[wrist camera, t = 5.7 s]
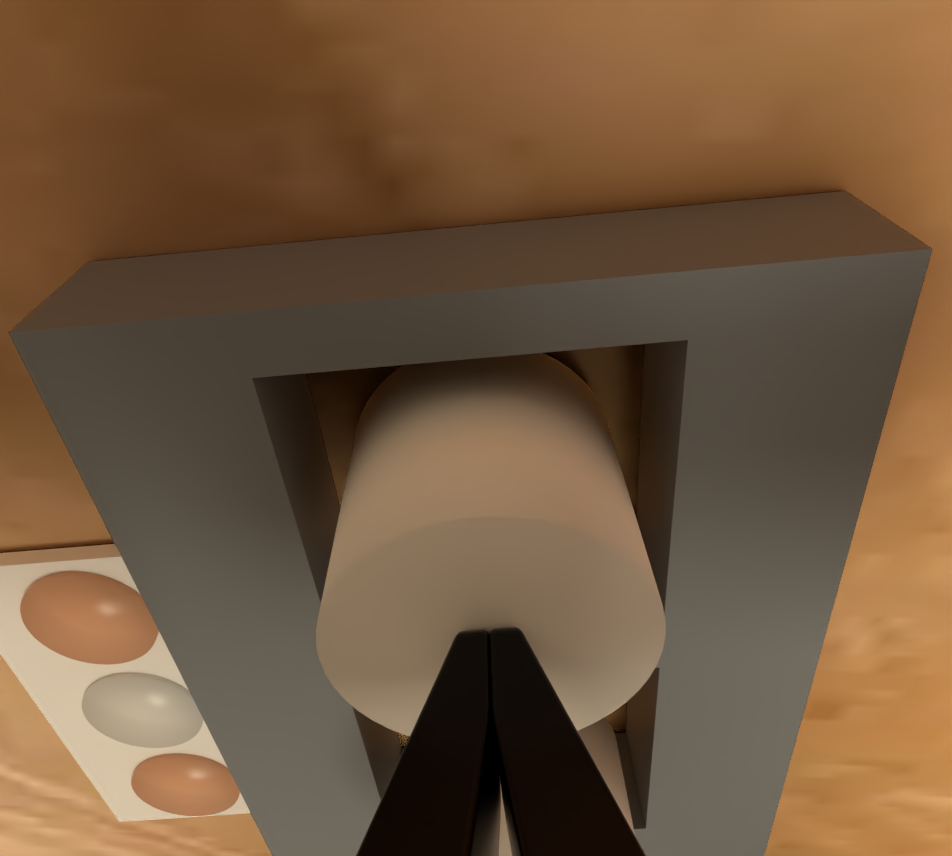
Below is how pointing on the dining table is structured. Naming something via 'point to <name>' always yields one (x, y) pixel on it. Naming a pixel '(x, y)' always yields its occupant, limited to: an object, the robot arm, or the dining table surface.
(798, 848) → the dining table surface
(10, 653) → the card
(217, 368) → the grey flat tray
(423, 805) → the robot arm
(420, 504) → the button
